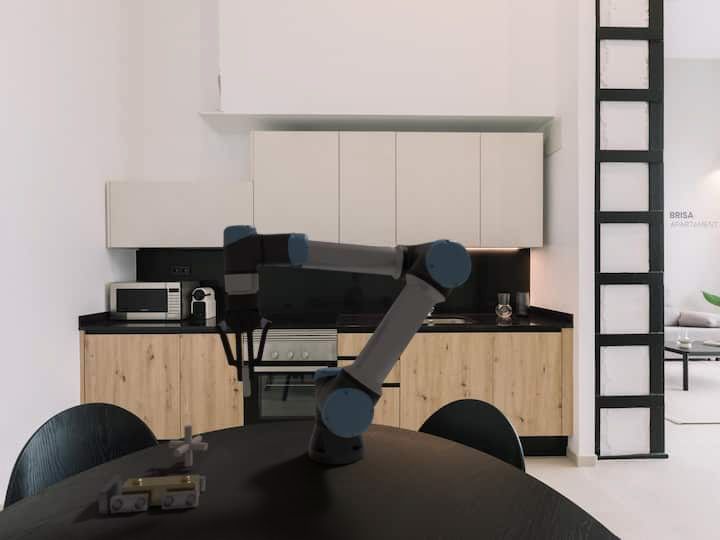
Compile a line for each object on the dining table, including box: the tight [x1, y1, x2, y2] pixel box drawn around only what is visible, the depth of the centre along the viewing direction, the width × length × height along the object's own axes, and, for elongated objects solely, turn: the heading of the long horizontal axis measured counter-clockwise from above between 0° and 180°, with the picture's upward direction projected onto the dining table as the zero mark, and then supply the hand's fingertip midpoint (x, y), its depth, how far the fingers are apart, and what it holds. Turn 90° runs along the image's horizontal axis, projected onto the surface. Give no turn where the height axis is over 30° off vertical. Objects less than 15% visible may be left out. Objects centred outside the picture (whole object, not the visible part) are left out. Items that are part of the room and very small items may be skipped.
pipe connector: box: [168, 424, 209, 468], centre depth 116 cm, size 10×10×10 cm
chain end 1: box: [98, 474, 150, 515], centre depth 97 cm, size 9×9×4 cm
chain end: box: [161, 475, 206, 511], centre depth 99 cm, size 7×9×3 cm
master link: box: [121, 474, 201, 507], centre depth 98 cm, size 15×4×5 cm, turn 97°
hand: (246, 394), depth 105 cm, fingers closed
